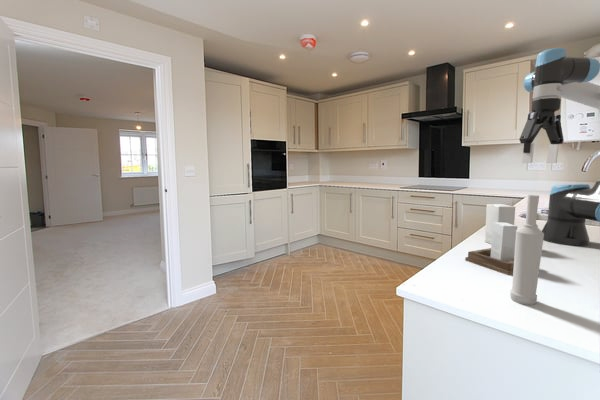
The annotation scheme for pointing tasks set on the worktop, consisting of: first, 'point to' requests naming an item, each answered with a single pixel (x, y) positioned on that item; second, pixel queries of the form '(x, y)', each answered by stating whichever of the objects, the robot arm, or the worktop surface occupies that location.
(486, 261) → the brown square tray
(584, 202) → the robot arm
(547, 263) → the worktop surface
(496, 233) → the skincare box
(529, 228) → the bottle
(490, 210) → the skincare box
